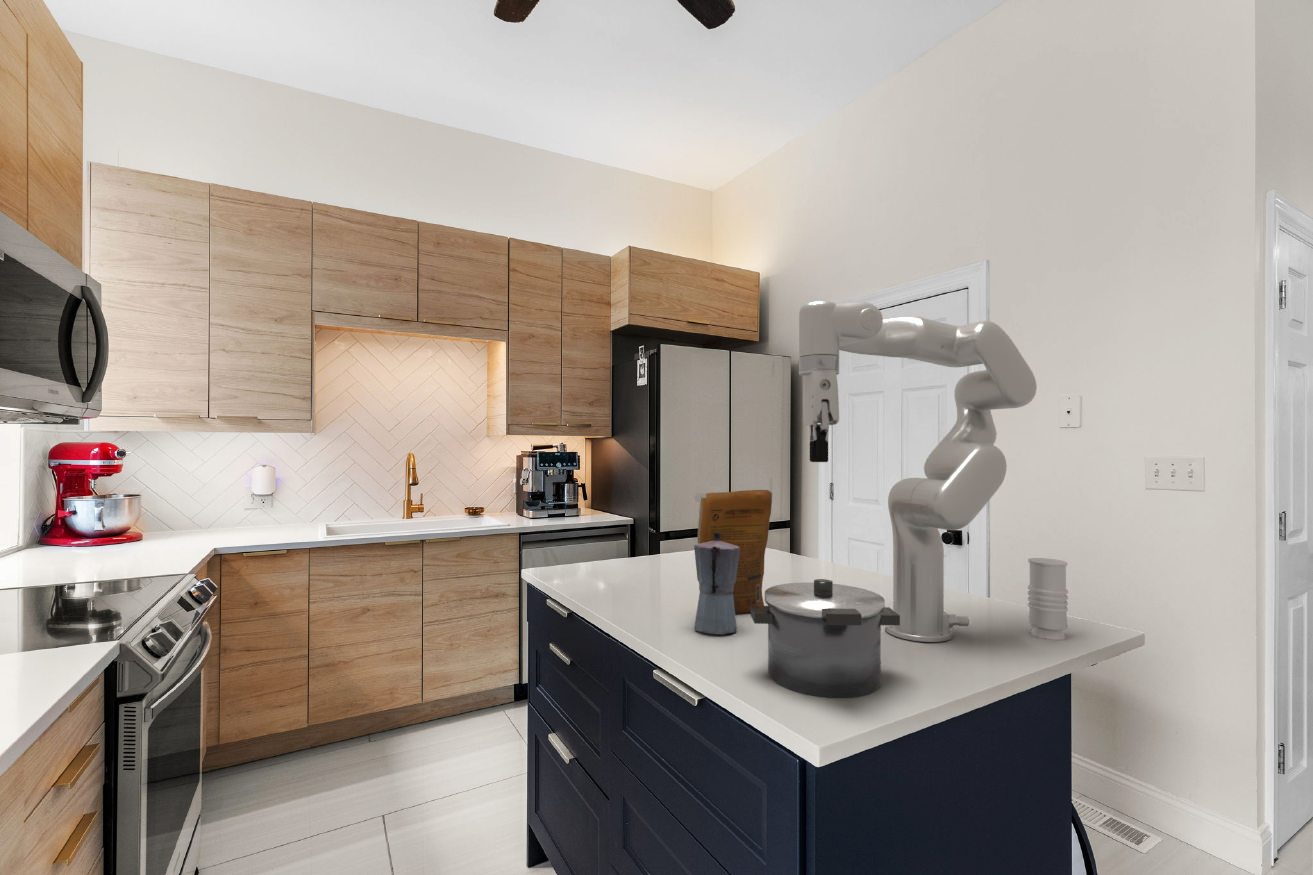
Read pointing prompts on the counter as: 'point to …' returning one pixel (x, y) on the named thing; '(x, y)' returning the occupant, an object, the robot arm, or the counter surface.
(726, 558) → the moka pot
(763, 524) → the pancake mix bag
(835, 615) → the lid
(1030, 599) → the grey ribbed canister
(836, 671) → the cooker pot
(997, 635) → the counter surface
